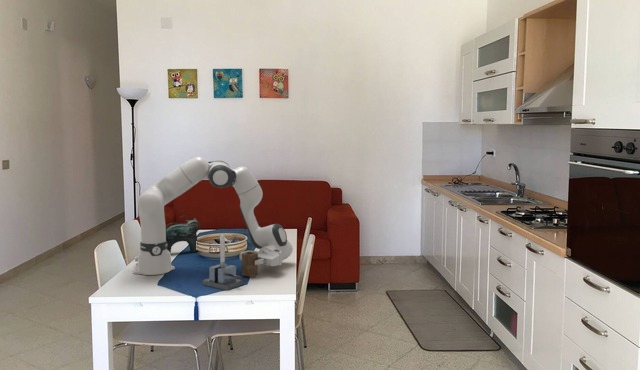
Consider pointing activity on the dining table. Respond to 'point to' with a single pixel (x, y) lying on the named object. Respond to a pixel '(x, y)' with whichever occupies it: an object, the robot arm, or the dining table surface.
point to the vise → (223, 272)
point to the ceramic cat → (183, 234)
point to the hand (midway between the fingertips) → (248, 261)
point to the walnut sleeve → (249, 264)
